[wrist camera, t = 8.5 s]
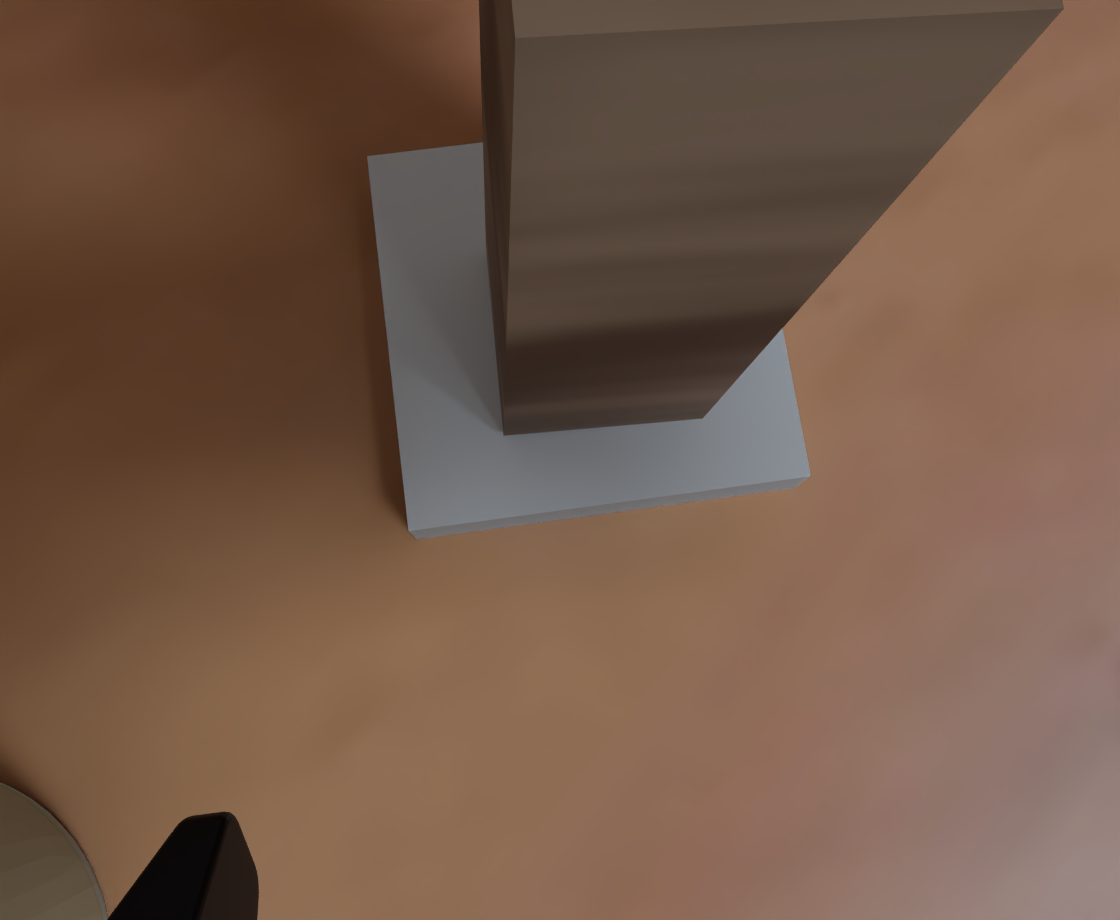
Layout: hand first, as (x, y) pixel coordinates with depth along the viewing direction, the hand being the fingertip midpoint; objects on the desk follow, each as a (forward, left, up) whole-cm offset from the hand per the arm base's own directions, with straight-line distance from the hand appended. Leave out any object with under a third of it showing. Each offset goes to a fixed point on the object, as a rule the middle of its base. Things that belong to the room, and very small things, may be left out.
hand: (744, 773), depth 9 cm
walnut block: (+6, -4, -10) cm, 13 cm away
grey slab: (+7, -5, -12) cm, 15 cm away
